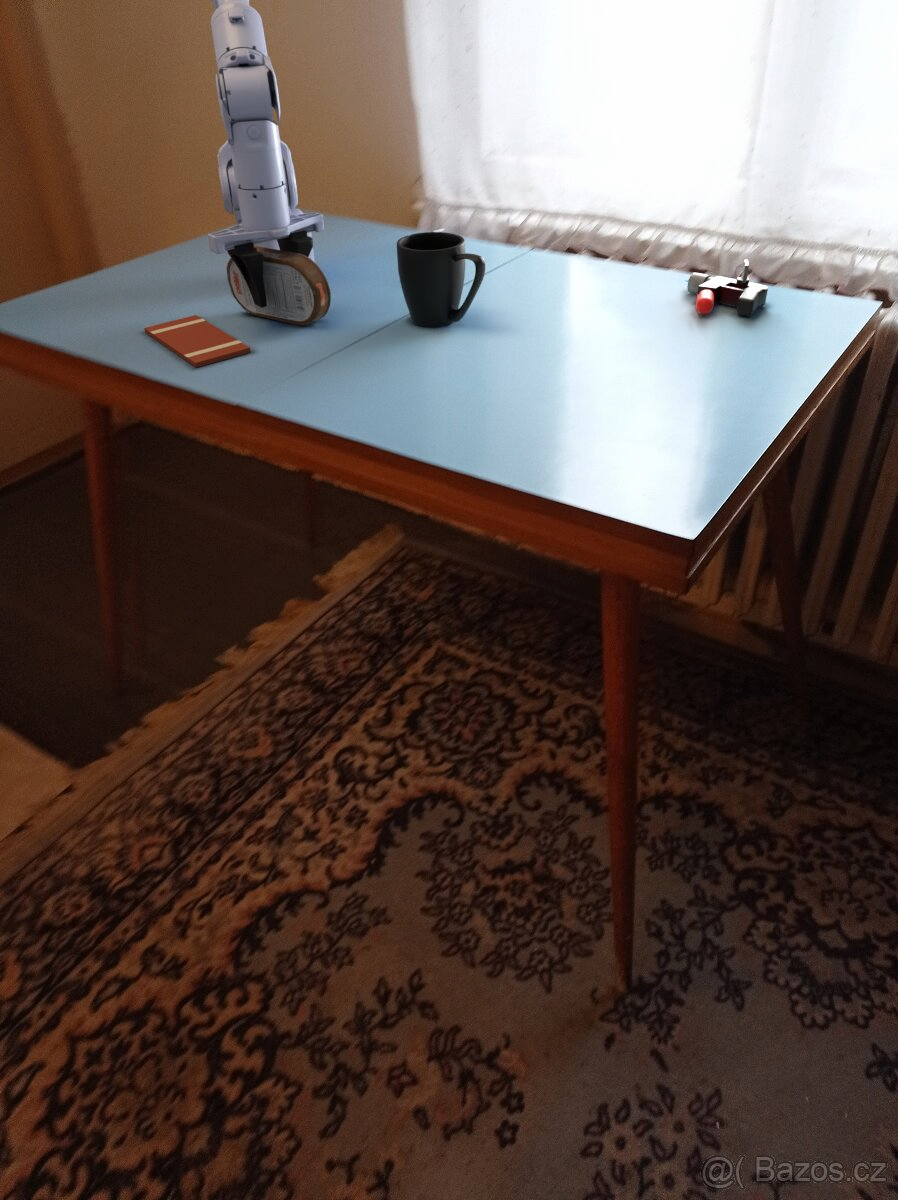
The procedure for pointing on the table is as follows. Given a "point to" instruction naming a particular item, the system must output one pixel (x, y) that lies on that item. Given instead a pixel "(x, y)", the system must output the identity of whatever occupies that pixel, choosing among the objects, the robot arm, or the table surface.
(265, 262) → the tin
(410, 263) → the mug
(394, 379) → the table surface
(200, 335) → the towel
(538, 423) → the table surface
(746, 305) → the red and grey device
